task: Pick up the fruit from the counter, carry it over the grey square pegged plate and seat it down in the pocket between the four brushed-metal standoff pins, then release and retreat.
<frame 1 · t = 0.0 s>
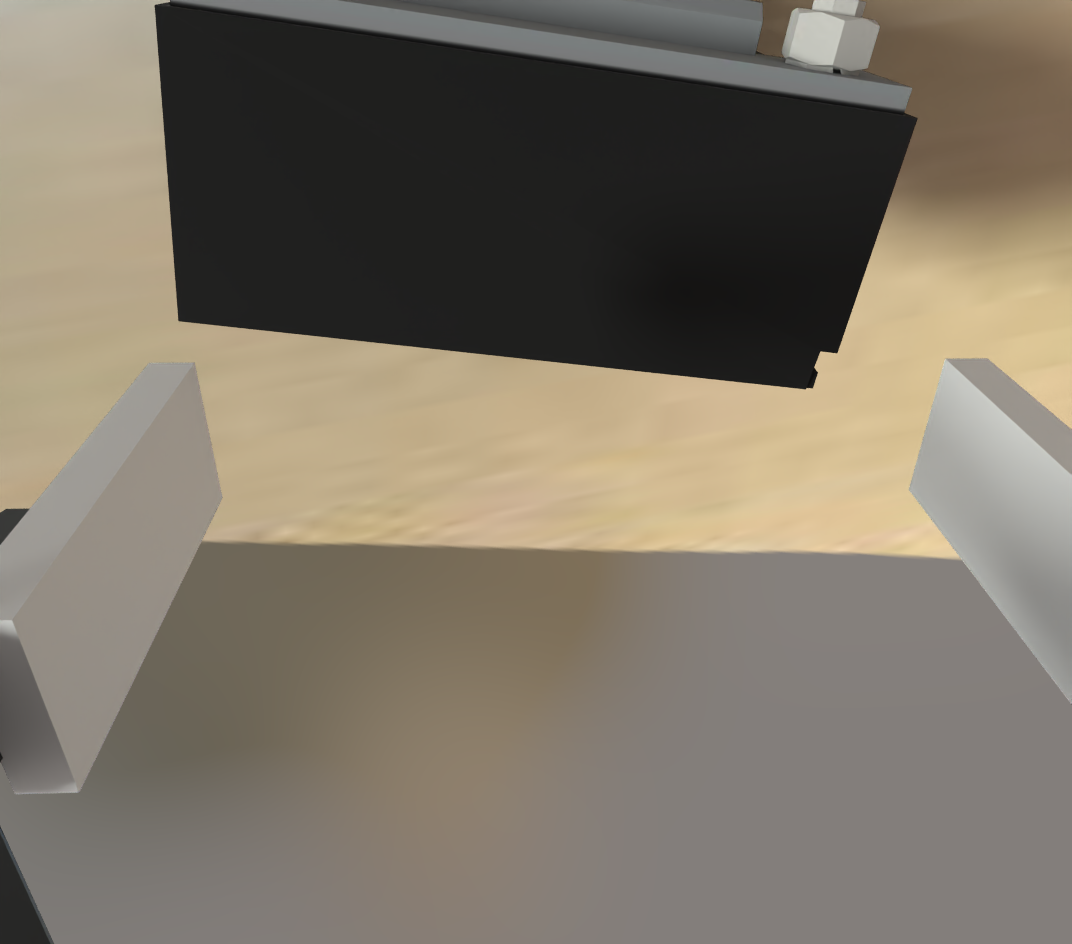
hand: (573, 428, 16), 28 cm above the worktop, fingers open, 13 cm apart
electrical component: (517, 80, 39), on the worktop
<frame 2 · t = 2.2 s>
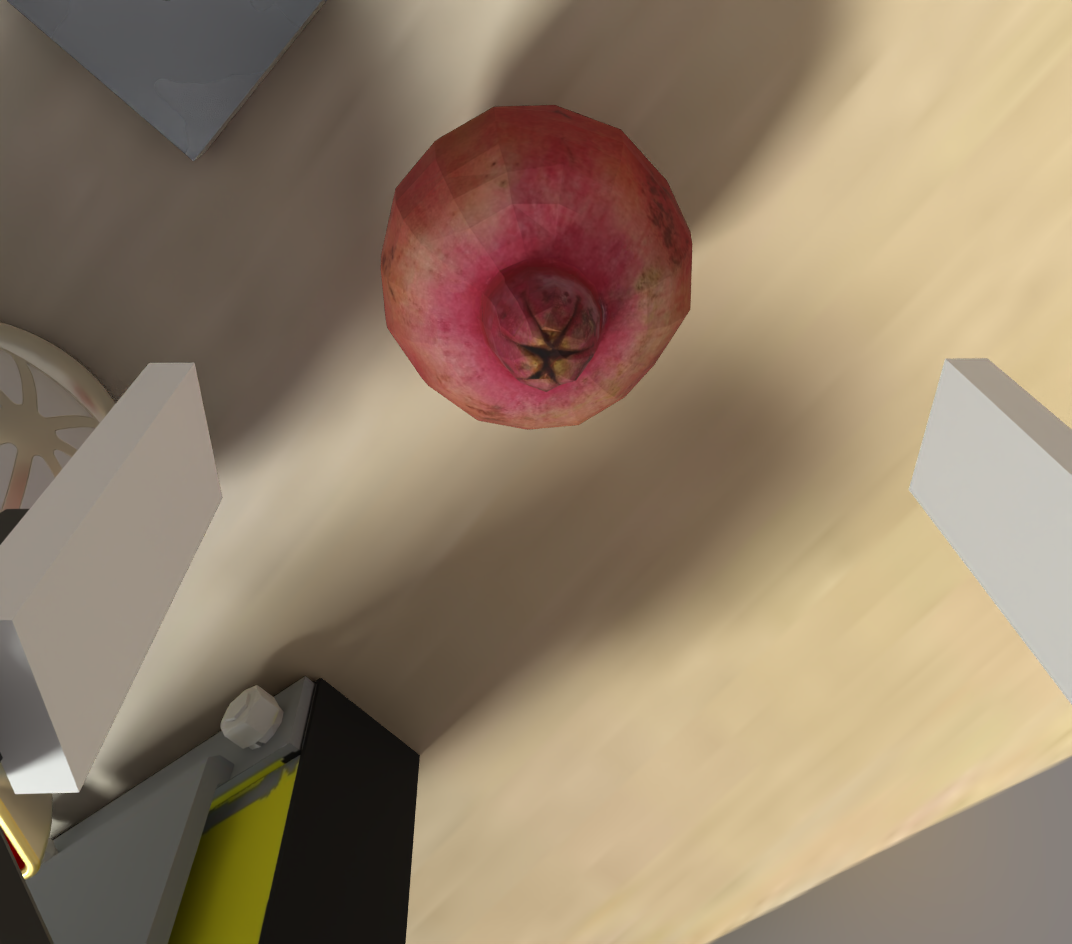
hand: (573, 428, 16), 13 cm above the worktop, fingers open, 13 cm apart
fruit: (526, 223, 27), on the worktop
electrical component: (226, 801, 40), on the worktop
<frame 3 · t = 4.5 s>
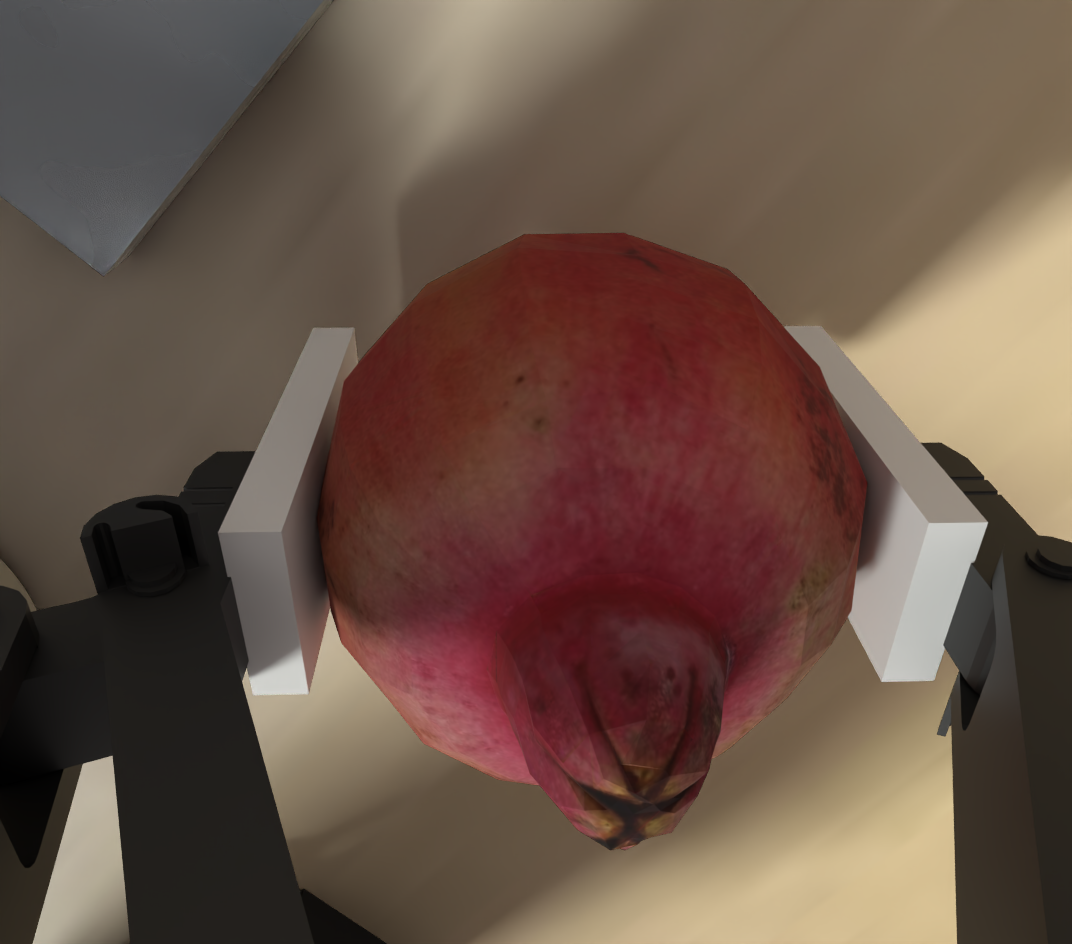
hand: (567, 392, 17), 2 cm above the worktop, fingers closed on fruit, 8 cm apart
fruit: (562, 380, 17), point 1 cm above the worktop, touching gripper
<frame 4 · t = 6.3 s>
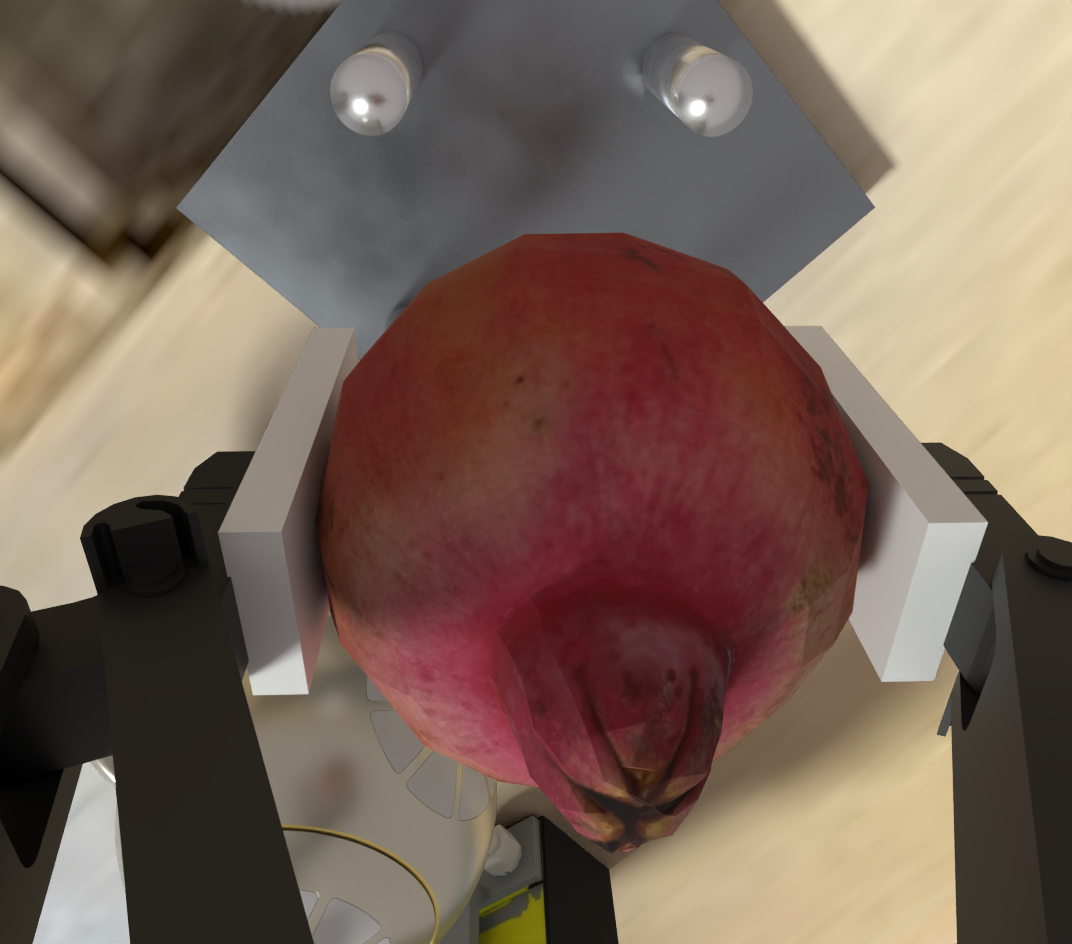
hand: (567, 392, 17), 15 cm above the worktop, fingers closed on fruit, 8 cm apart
fruit: (562, 380, 17), point 14 cm above the worktop, touching gripper
electrical component: (451, 902, 50), on the worktop
grey square pegged plate: (530, 198, 29), on the worktop
teapot: (321, 632, 39), on the worktop
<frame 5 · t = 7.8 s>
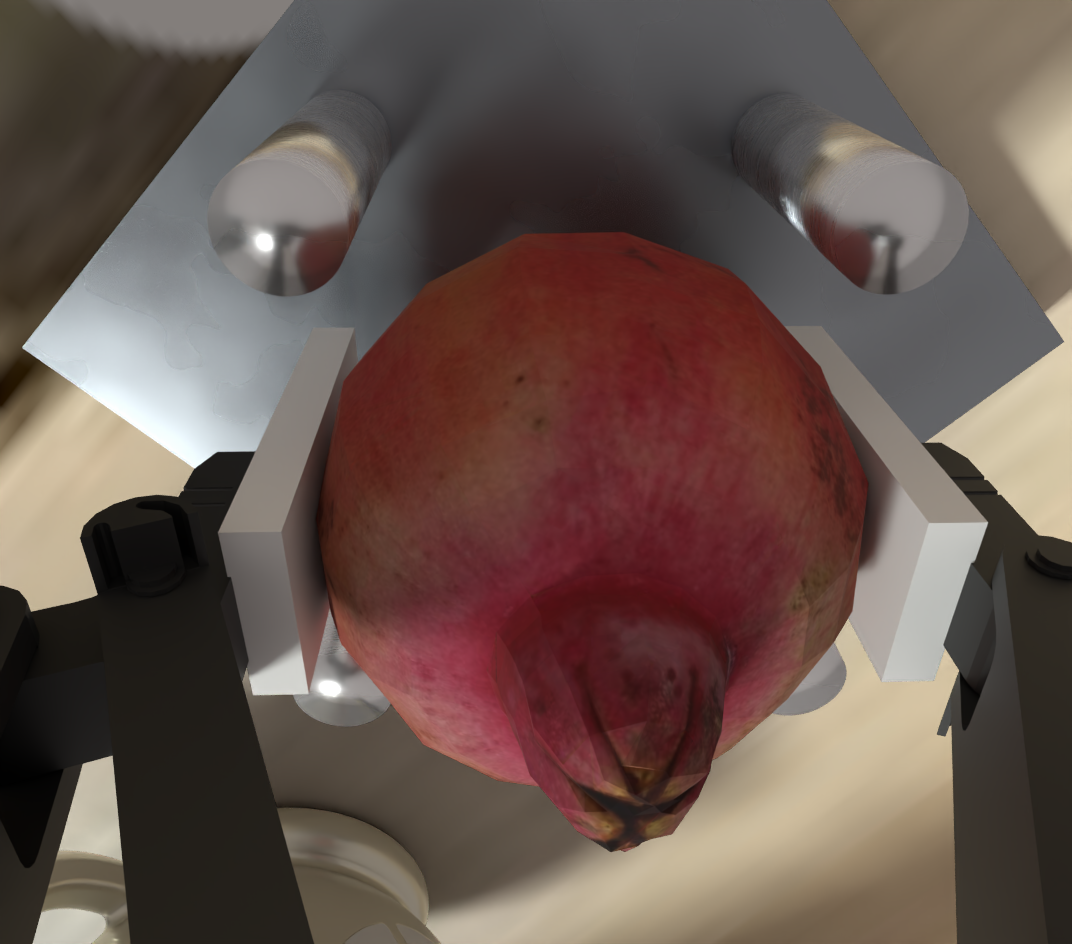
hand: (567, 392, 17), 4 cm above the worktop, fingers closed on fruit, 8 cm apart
fruit: (562, 380, 17), point 3 cm above the worktop, touching gripper
grey square pegged plate: (553, 323, 20), on the worktop
teapot: (269, 852, 30), on the worktop
when the fingers open (3 cm above the worktop, at t = 8.3 s): fruit drops 1 cm, resting on grey square pegged plate.
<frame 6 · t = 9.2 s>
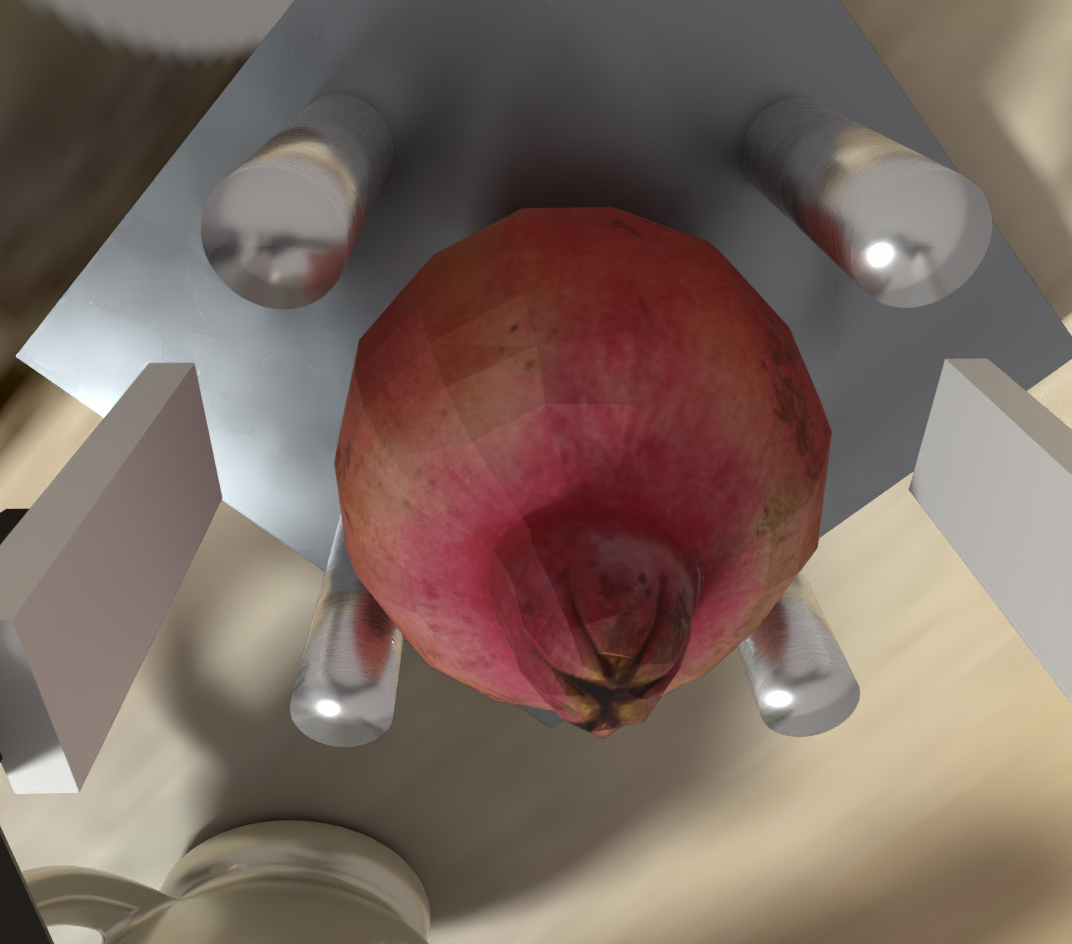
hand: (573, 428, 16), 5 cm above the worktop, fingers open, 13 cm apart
fruit: (560, 352, 19), point 1 cm above the worktop, touching grey square pegged plate
grey square pegged plate: (558, 332, 20), on the worktop
teapot: (269, 865, 29), on the worktop
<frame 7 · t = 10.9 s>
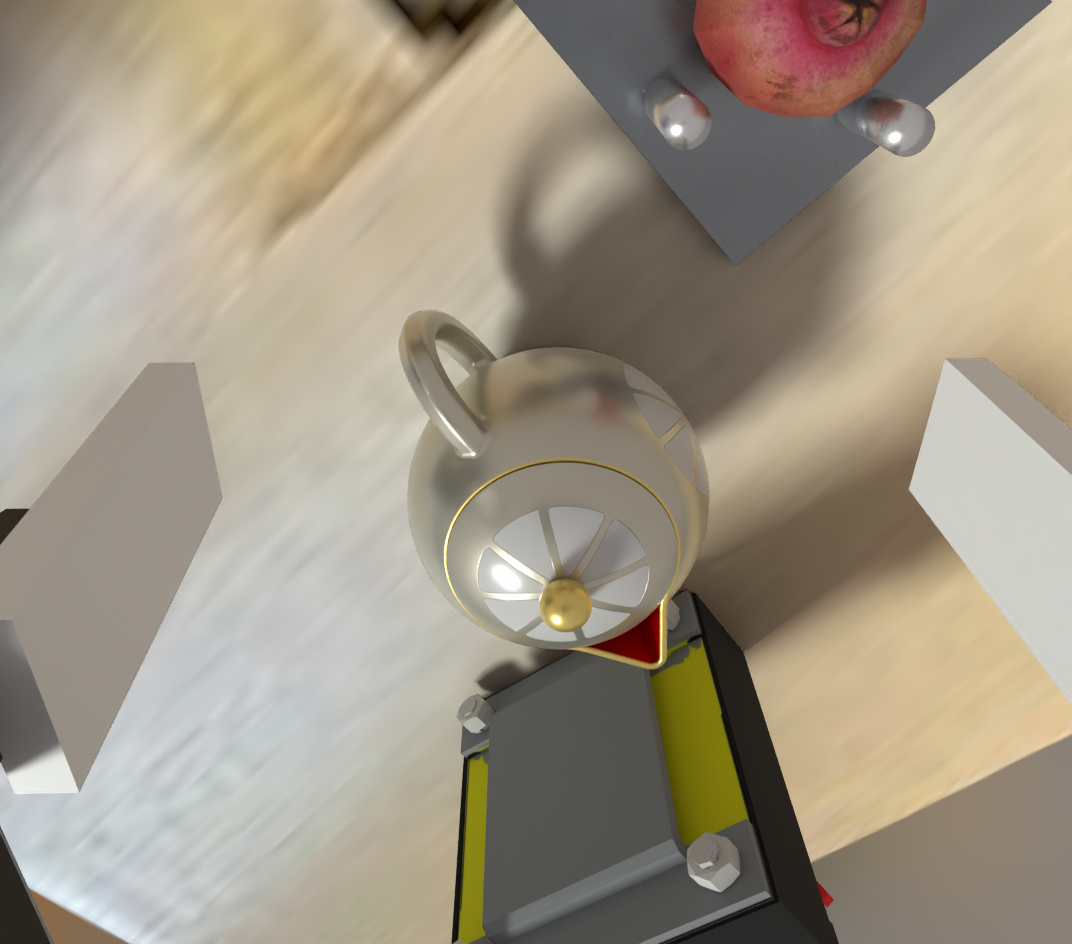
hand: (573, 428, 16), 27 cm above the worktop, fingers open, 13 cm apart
electrical component: (600, 681, 57), on the worktop
teapot: (534, 396, 46), on the worktop
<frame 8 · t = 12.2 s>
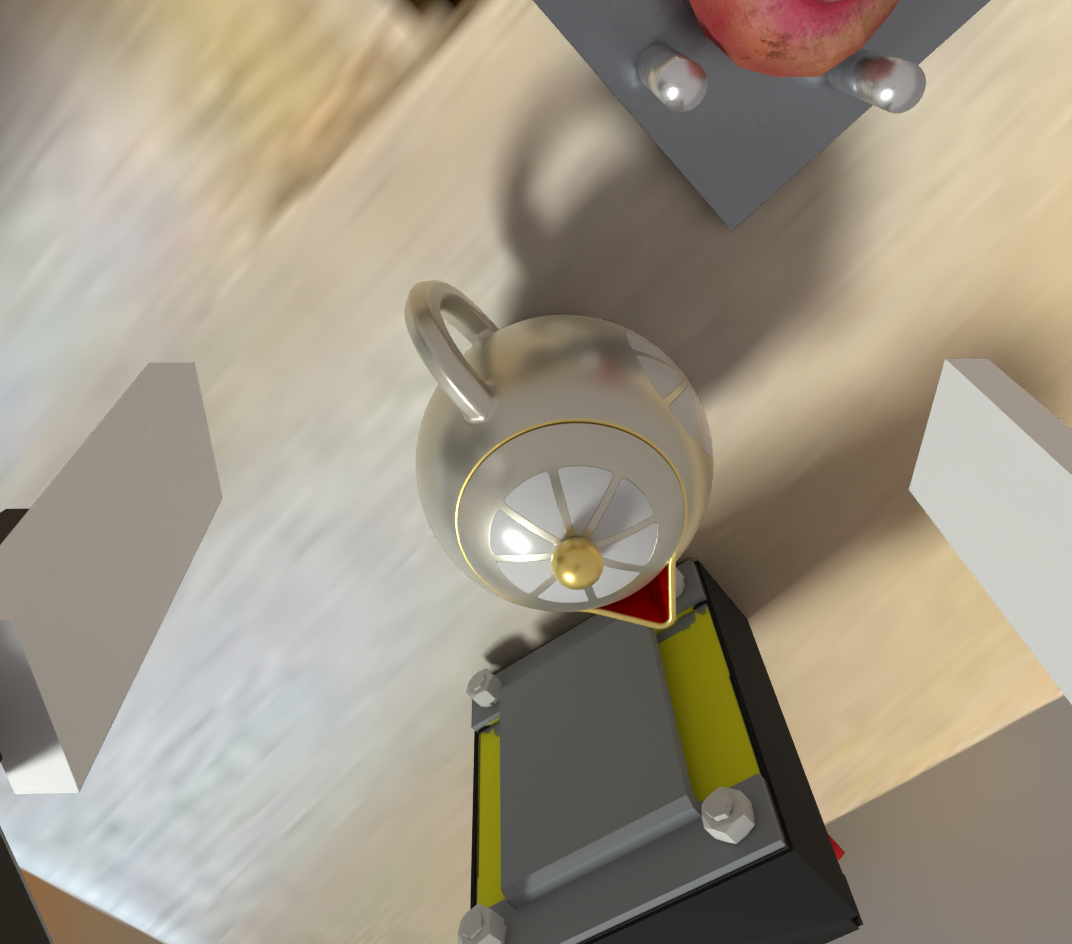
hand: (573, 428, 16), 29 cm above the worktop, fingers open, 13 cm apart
electrical component: (607, 653, 57), on the worktop
teapot: (536, 368, 47), on the worktop
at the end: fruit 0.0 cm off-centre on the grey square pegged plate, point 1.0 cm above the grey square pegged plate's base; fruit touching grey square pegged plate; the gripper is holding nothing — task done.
